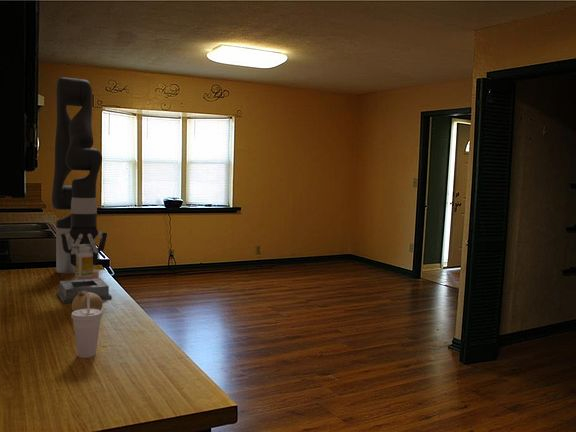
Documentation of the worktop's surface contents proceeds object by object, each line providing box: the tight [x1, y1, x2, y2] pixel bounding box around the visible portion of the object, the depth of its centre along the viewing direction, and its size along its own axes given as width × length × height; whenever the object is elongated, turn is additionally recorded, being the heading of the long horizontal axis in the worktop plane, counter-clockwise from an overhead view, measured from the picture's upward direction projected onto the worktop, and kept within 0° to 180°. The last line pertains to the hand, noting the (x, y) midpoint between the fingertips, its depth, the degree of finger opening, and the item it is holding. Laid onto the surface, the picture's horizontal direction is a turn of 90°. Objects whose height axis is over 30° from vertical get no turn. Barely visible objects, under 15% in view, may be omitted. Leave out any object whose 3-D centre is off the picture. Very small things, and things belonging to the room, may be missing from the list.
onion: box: [71, 291, 104, 312], centre depth 146 cm, size 8×8×7 cm
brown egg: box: [76, 268, 100, 280], centre depth 182 cm, size 7×7×5 cm
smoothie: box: [71, 293, 103, 359], centre depth 116 cm, size 6×6×14 cm
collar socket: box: [56, 277, 113, 305], centre depth 167 cm, size 14×14×4 cm
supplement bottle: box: [74, 244, 94, 278], centre depth 166 cm, size 5×5×10 cm
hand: (83, 264), depth 166 cm, fingers closed on supplement bottle, 5 cm apart
